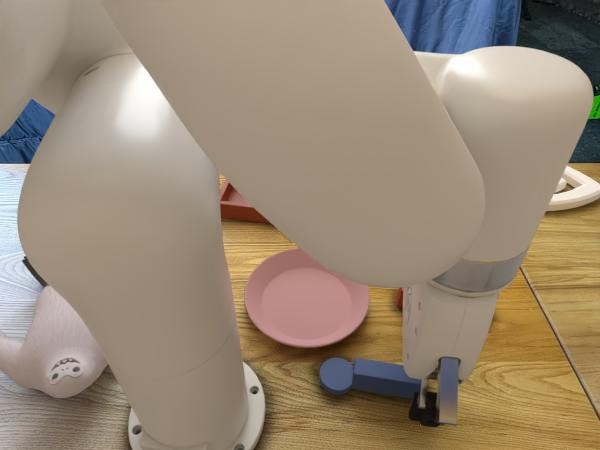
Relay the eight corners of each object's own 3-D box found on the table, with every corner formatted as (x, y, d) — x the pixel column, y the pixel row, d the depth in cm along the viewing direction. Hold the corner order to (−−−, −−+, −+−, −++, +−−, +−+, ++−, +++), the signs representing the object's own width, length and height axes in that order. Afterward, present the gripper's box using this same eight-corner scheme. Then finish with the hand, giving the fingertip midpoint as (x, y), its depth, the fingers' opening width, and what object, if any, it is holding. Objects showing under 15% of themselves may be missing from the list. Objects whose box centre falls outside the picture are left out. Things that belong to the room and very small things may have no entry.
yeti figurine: (125, 213, 56) (193, 318, 43) (135, 253, 60) (200, 360, 47) (-65, 273, 46) (-50, 429, 34) (-38, 315, 50) (-15, 469, 38)
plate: (258, 371, 46) (257, 361, 44) (236, 270, 56) (234, 259, 55) (387, 340, 49) (389, 329, 47) (343, 249, 59) (344, 238, 57)
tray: (321, 193, 67) (322, 179, 66) (313, 229, 62) (314, 215, 60) (231, 183, 69) (230, 169, 67) (216, 217, 63) (214, 202, 61)
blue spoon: (316, 392, 44) (318, 376, 42) (321, 359, 47) (322, 344, 45) (422, 409, 43) (428, 394, 41) (421, 375, 46) (427, 360, 44)
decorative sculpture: (405, 143, 78) (407, 135, 77) (581, 158, 75) (586, 150, 74) (409, 197, 67) (411, 189, 66) (615, 217, 64) (621, 209, 63)
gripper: (407, 163, 37) (386, 292, 49) (409, 343, 25) (380, 458, 36) (502, 169, 36) (457, 300, 48) (554, 362, 24) (476, 474, 35)
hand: (424, 368), depth 42 cm, fingers open, 9 cm apart
